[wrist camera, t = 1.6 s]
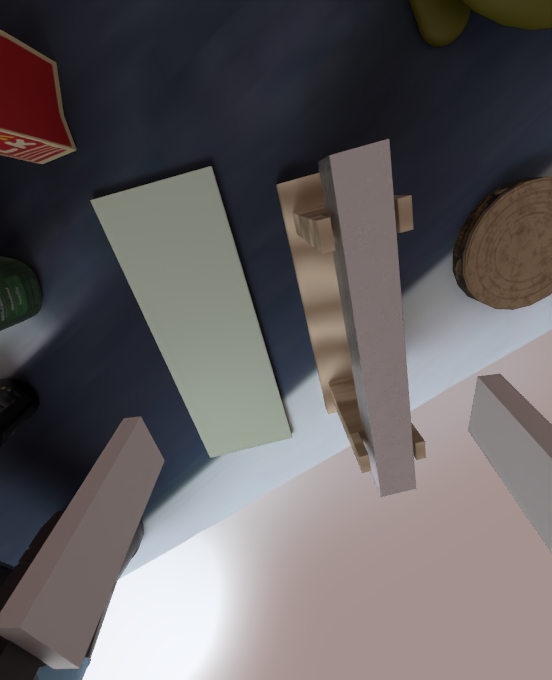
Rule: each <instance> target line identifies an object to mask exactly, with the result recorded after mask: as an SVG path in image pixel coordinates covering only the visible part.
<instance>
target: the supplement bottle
mask: <svg viewBox="0 0 552 680" xmlns="http://www.w3.org/2000/svg"><path fill="white" fill-rule="evenodd" d="M38 406H39V400H38V397H37V395H36V393H35V392H34V391H33V389H32V388H30V387H29V386H28V385H26V384H24V383H22V382H20V381H17V380H13V379H1V380H0V447H1V446H2V445H3V444H4V443H5V442H6V441H7V440H8V439H9V438H10V437H11V436H12V435H13V434H14V433H15V432H16V431H17V430H18V429H20V428H21V427H22V426H23V425H24V424H25V423H26V422H27V421H28V420H29V419H30V418H31V417H32V416H33V415H34V413H35V412H36V411H37V409H38Z"/></svg>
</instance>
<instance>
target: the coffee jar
mask: <svg viewBox="0 0 552 680" xmlns="http://www.w3.org/2000/svg"><path fill="white" fill-rule="evenodd" d="M41 306H42V295H41V288H40V285H39V282H38V279H37V277H36V275H35V273H34V272H33V271H32V270H31V268H30V267H29V266H28V265H26V264H25V263H23V262H21V261H19V260H16V259H12V258H8V257H2V256H0V331H1V330H3V329H6V328H8V327H10V326H13V325H15V324H18V323H20V322H22V321H24V320H26V319H29V318H31V317H33V316H35V315H36V314H37V313H38V312H39V311H40V309H41Z"/></svg>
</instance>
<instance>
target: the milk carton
mask: <svg viewBox="0 0 552 680" xmlns="http://www.w3.org/2000/svg"><path fill="white" fill-rule="evenodd" d="M76 150H77V149H76V146H75V144H74V141H73V138H72V136H71V133H70V130H69V128H68V125H67V122H66V120H65V117H64V113H63V106H62V99H61V92H60V85H59V78H58V71H57V63H56V62H55V61H53V60H51V59H49V58H48V57H46V56H44V55H43V54H41V53H39V52H38V51H36V50H34V49H33V48H31V47H29V46H28V45H26V44H24V43H23V42H21V41H19V40H18V39H16V38H14V37H12V36H11V35H9V34H7V33H6V32H4V31H2V30H0V155H2V156H6V157H11V158H16V159H20V160H25V161H30V162H34V163H39V164H44V163H47V162H49V161H52V160H54V159H57V158H59V157H61V156H64V155H66V154H69V153H71V152H74V151H76Z"/></svg>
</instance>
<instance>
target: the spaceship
mask: <svg viewBox="0 0 552 680" xmlns="http://www.w3.org/2000/svg"><path fill="white" fill-rule="evenodd" d="M409 3H410V6H411V8H412V11H413V14H414V17H415V20H416V23H417V26H418V29H419V31H420V34H421V35H422V37H423V39H424V40H425V42H427V43H428V44H430V45H431V46H433V47H443V46H445V45H447V44H449V43H451V42H453V41H454V40H455V39H456V38H457V37H458V36H459V35H460V34H461V33H462V32H463V31H464V29H465V27H466V25H467V23H468V20H469V18H470V13H471V9H472V10H473V11H474V12H476V13H478V14H480V15H482V16H485V17H487V18H489V19H491V20H493V21H495V22H497V23H499V24H501V25H504V26H510V27H516V28H522V29H528V30H540V29H548V28H552V0H409Z"/></svg>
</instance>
